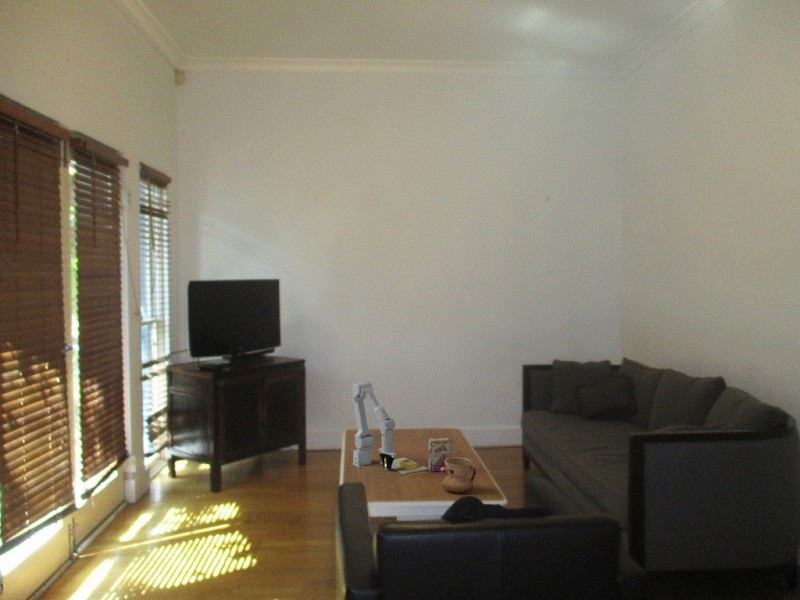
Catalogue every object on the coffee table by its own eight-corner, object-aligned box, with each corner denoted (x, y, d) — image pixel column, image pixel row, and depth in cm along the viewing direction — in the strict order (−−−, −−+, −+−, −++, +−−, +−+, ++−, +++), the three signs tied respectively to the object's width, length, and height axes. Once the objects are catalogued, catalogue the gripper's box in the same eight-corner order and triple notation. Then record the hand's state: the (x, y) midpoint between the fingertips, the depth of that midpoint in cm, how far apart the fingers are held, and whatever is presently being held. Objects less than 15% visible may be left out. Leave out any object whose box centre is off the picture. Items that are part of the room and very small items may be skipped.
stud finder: (408, 470, 349) (408, 464, 349) (399, 466, 357) (399, 460, 357) (417, 469, 352) (417, 463, 352) (407, 464, 360) (407, 459, 359)
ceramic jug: (444, 496, 313) (445, 466, 312) (435, 486, 327) (436, 457, 326) (481, 494, 317) (482, 464, 317) (471, 484, 331) (471, 455, 331)
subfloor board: (402, 475, 345) (402, 473, 344) (378, 464, 365) (378, 462, 365) (428, 470, 353) (428, 468, 353) (404, 459, 373) (404, 457, 373)
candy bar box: (430, 472, 349) (430, 441, 349) (428, 469, 354) (428, 438, 353) (451, 471, 352) (451, 439, 351) (448, 468, 357) (448, 437, 356)
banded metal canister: (386, 472, 349) (386, 459, 349) (383, 471, 352) (383, 457, 352) (391, 471, 351) (391, 458, 351) (388, 470, 354) (388, 457, 353)
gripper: (401, 444, 347) (401, 470, 347) (386, 438, 359) (386, 463, 360) (389, 446, 343) (389, 472, 344) (375, 440, 355) (375, 465, 356)
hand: (387, 468), depth 351 cm, fingers closed on banded metal canister, 3 cm apart
